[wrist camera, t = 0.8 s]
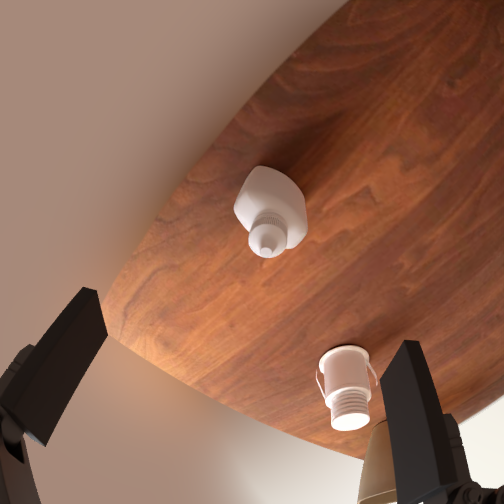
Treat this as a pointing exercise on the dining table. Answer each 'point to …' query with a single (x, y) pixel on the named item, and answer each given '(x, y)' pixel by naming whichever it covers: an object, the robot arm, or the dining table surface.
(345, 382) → the downlight
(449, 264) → the dining table surface
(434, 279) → the dining table surface
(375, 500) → the plant pot
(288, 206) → the eye dropper bottle
